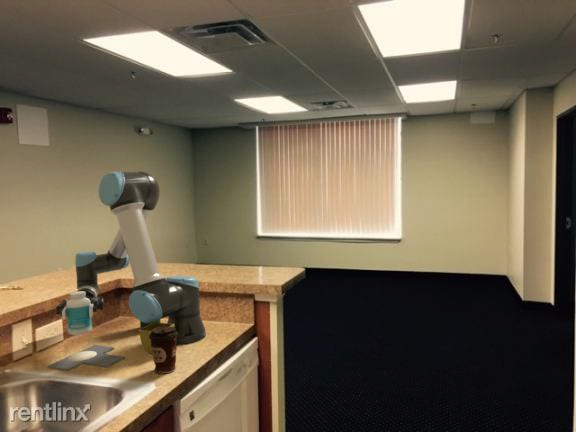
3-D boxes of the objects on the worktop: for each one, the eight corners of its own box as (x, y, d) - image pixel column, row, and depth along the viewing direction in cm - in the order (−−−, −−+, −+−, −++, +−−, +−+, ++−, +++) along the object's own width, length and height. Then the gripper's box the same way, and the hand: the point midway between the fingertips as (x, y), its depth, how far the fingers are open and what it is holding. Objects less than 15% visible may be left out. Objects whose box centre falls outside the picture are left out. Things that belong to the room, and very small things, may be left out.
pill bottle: (95, 331, 157) (93, 292, 156) (73, 337, 152) (70, 296, 151) (86, 327, 162) (84, 289, 161) (64, 332, 157) (62, 293, 156)
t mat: (137, 351, 161) (136, 350, 161) (92, 374, 143) (92, 372, 143) (95, 346, 168) (94, 344, 168) (47, 367, 150) (47, 365, 150)
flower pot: (161, 358, 154) (159, 331, 154) (139, 355, 158) (138, 329, 157) (176, 349, 163) (175, 323, 162) (155, 346, 166) (154, 322, 165)
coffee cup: (162, 378, 139) (159, 335, 138) (145, 372, 144) (142, 330, 143) (185, 368, 145) (182, 327, 144) (168, 362, 150) (165, 323, 149)
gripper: (114, 304, 177) (110, 321, 155) (55, 310, 171) (43, 329, 149) (113, 285, 176) (109, 299, 154) (54, 290, 170) (41, 306, 148)
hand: (77, 314), depth 152 cm, fingers closed on pill bottle, 7 cm apart
